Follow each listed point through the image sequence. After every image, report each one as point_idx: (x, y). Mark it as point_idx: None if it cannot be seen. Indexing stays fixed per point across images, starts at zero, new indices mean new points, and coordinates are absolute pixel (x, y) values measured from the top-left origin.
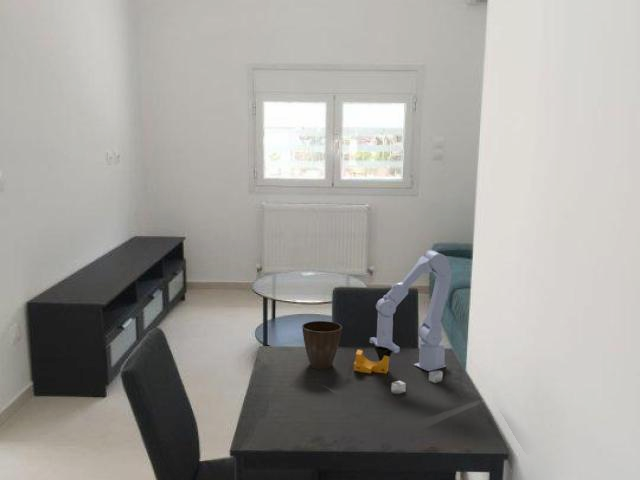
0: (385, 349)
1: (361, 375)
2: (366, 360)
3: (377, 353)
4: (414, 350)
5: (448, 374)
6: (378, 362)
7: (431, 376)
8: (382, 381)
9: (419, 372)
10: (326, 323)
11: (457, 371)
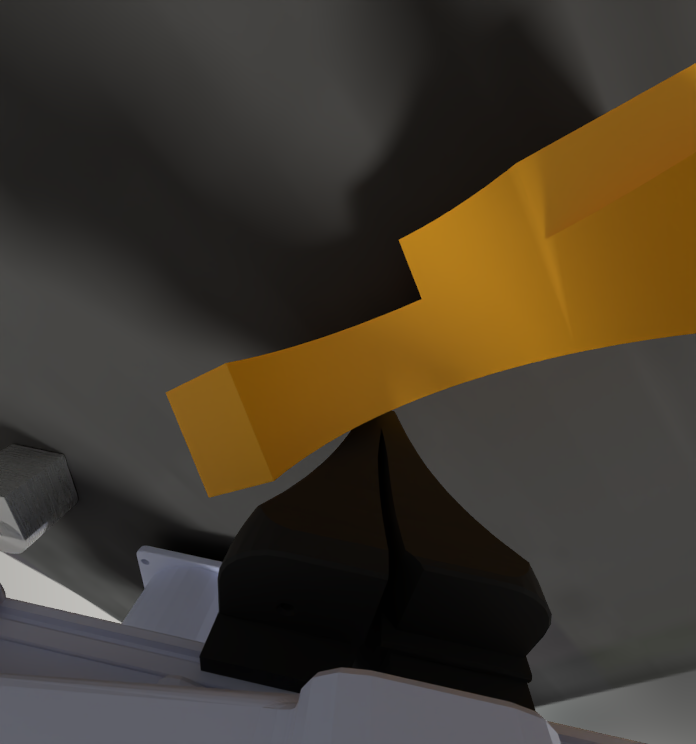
0: (259, 619)
1: (475, 131)
2: (555, 314)
3: (450, 505)
4: None
5: (105, 569)
6: (380, 388)
7: (4, 474)
8: (196, 176)
9: (200, 519)
10: None
11: (121, 609)
